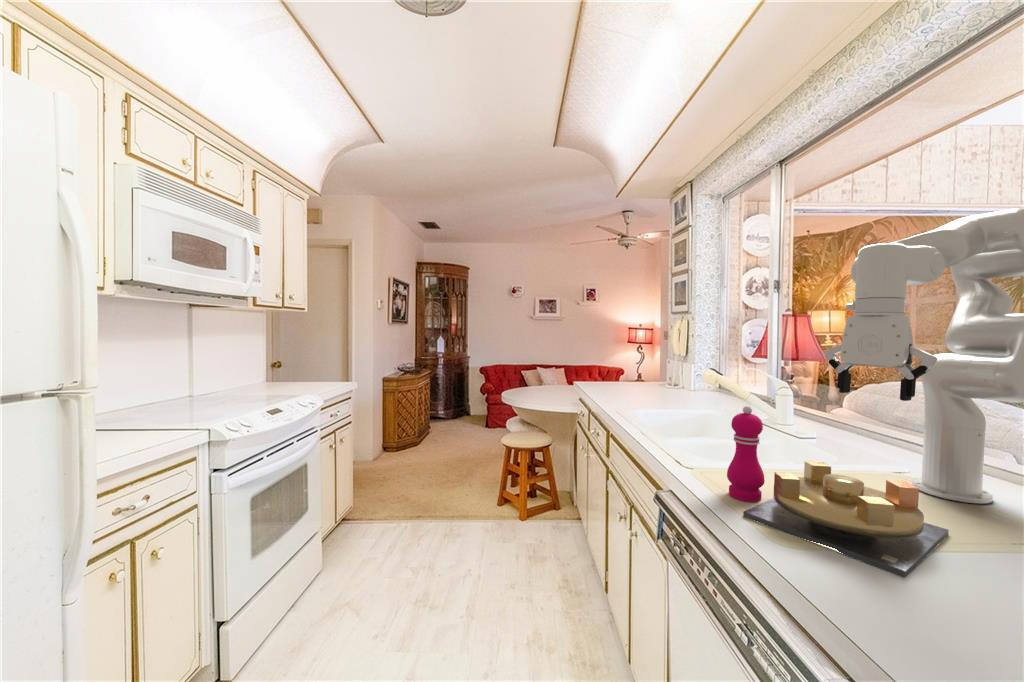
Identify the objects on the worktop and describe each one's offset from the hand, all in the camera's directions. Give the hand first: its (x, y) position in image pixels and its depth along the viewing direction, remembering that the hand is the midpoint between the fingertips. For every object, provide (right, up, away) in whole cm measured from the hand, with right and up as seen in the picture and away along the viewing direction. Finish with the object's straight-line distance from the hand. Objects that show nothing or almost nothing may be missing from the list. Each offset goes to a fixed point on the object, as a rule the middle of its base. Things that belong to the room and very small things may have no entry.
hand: (873, 396), depth 83 cm
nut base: (-9, -24, -3) cm, 26 cm away
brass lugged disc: (-9, -21, -3) cm, 23 cm away
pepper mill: (-20, -24, +10) cm, 32 cm away
